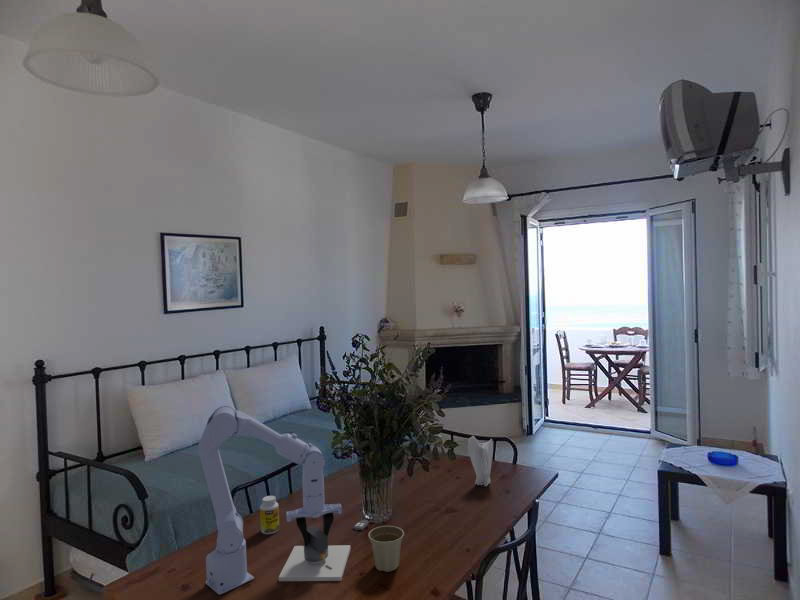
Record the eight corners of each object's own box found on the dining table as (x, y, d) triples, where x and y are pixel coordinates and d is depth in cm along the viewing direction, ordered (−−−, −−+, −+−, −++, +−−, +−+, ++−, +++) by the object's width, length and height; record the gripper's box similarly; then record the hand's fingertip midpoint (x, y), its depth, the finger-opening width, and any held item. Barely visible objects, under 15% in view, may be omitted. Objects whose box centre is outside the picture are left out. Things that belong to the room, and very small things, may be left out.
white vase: (497, 482, 190) (495, 434, 190) (488, 490, 183) (487, 440, 183) (476, 478, 195) (475, 431, 195) (467, 486, 188) (466, 437, 188)
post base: (341, 580, 129) (340, 572, 129) (278, 581, 130) (278, 573, 130) (350, 548, 145) (350, 541, 145) (294, 549, 146) (294, 542, 146)
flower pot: (385, 553, 142) (384, 522, 142) (412, 563, 136) (411, 531, 136) (362, 568, 135) (360, 535, 135) (389, 579, 129) (388, 545, 129)
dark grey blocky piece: (298, 554, 139) (297, 530, 139) (319, 546, 143) (318, 523, 143) (313, 566, 132) (312, 541, 132) (334, 557, 136) (333, 533, 136)
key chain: (363, 532, 156) (362, 527, 156) (352, 531, 157) (352, 526, 157) (381, 515, 168) (380, 510, 168) (370, 513, 169) (370, 509, 169)
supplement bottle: (264, 537, 154) (262, 503, 154) (258, 530, 159) (257, 497, 159) (282, 531, 157) (280, 498, 157) (275, 525, 162) (274, 493, 162)
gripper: (286, 502, 131) (289, 555, 132) (342, 494, 135) (344, 545, 136) (285, 492, 138) (287, 542, 138) (338, 485, 142) (340, 533, 142)
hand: (315, 543), depth 138 cm, fingers closed on dark grey blocky piece, 4 cm apart
